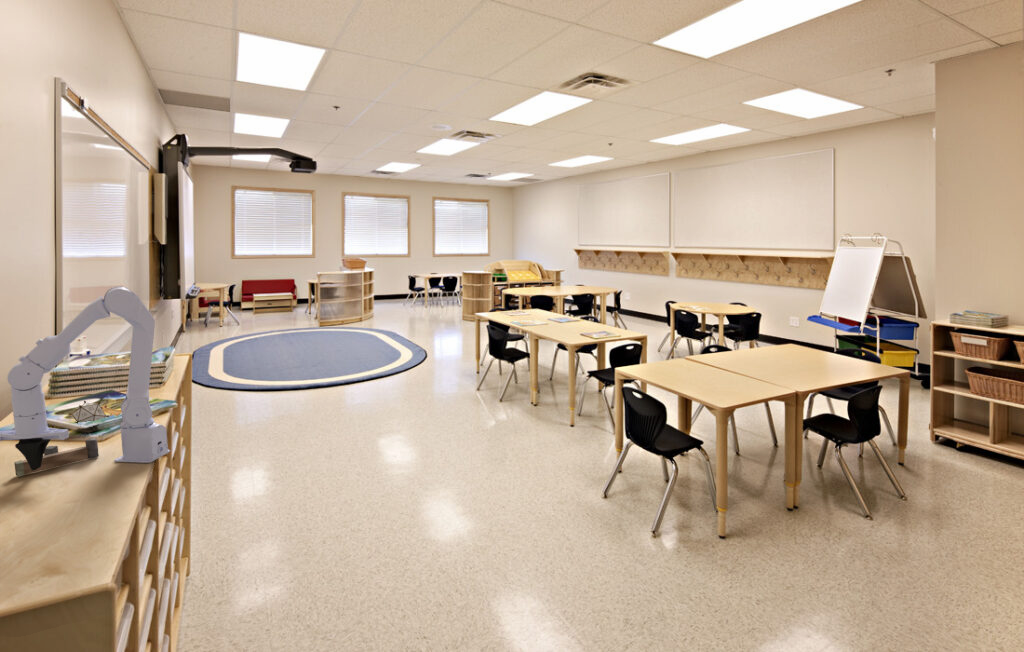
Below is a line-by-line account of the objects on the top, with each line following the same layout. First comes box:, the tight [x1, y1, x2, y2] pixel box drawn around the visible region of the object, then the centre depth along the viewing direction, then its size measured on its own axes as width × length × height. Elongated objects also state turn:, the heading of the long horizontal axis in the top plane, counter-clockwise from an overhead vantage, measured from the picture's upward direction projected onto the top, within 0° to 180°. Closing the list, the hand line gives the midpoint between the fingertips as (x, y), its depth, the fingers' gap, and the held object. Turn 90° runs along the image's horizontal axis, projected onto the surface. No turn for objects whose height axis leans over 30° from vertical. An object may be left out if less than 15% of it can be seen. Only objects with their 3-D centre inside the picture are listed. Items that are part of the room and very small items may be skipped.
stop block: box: [43, 445, 59, 456], centre depth 140 cm, size 2×2×2 cm
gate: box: [14, 437, 99, 478], centre depth 134 cm, size 16×2×5 cm, turn 143°
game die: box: [68, 400, 110, 424], centre depth 161 cm, size 9×8×10 cm
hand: (36, 468), depth 129 cm, fingers closed
